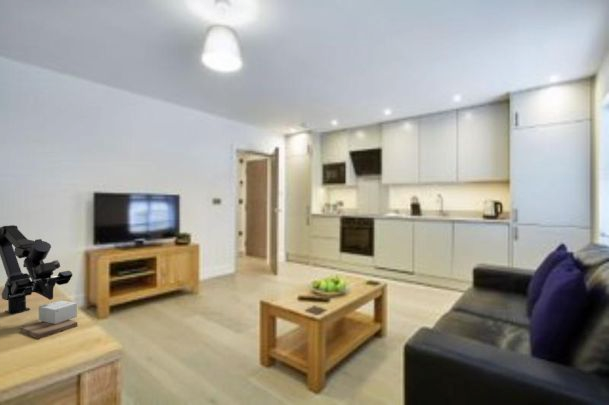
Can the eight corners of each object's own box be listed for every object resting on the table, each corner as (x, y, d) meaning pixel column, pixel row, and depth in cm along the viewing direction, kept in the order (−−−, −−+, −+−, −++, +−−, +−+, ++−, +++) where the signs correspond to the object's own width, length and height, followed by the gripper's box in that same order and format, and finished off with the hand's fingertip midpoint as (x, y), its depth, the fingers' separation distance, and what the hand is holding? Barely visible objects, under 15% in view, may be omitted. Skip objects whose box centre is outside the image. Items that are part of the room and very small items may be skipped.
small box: (38, 320, 124) (54, 324, 119) (37, 306, 123) (54, 309, 119) (61, 313, 131) (77, 317, 127) (60, 299, 131) (77, 303, 126)
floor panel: (20, 331, 117) (20, 327, 117) (58, 320, 128) (58, 316, 128) (39, 338, 111) (39, 334, 111) (77, 326, 121) (77, 322, 121)
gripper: (13, 259, 119) (28, 292, 114) (69, 251, 136) (85, 280, 131) (4, 278, 123) (19, 311, 118) (60, 268, 139) (75, 297, 134)
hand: (51, 298), depth 125 cm, fingers closed
